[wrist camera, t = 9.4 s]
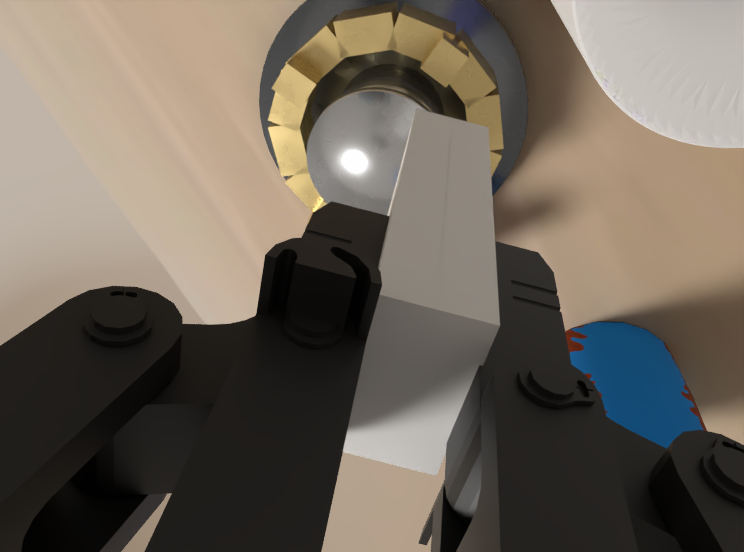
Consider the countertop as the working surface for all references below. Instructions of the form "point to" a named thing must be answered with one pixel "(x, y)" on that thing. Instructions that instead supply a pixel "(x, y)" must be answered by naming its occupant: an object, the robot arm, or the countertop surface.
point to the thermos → (635, 379)
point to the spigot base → (349, 65)
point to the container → (667, 63)
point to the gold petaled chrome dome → (368, 35)
